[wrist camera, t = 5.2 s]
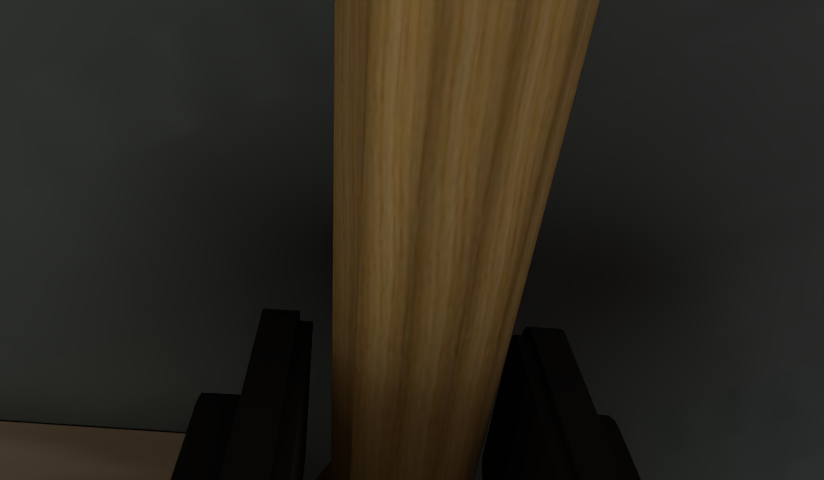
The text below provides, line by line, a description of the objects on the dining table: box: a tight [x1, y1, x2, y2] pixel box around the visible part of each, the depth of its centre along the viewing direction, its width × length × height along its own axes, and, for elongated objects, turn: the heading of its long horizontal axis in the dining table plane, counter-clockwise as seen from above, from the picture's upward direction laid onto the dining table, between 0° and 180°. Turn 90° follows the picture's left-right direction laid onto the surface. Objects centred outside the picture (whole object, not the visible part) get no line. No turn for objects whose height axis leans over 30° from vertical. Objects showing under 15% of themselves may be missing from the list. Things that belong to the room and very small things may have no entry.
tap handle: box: [316, 0, 600, 480], centre depth 10 cm, size 3×3×30 cm
